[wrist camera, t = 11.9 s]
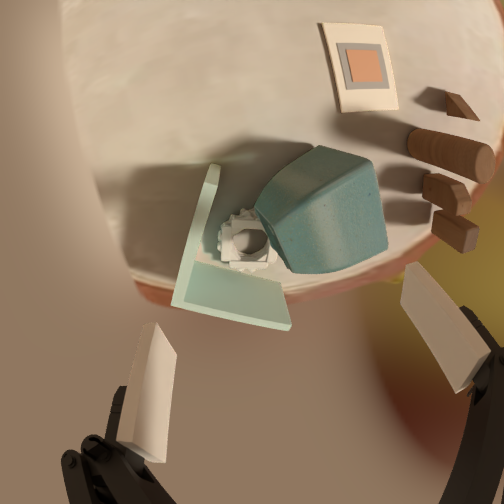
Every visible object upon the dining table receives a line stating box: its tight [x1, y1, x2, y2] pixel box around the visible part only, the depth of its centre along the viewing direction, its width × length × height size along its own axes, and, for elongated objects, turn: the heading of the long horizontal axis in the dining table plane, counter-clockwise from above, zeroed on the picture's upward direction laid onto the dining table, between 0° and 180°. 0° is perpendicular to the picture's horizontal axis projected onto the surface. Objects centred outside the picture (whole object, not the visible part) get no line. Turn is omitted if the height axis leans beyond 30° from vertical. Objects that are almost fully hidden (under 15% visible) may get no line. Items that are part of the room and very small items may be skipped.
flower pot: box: [254, 145, 388, 274], centre depth 24 cm, size 9×9×9 cm
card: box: [322, 23, 399, 113], centre depth 21 cm, size 10×7×1 cm
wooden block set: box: [407, 91, 495, 253], centre depth 22 cm, size 18×9×10 cm, turn 8°
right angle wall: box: [171, 163, 292, 331], centre depth 26 cm, size 12×12×8 cm
